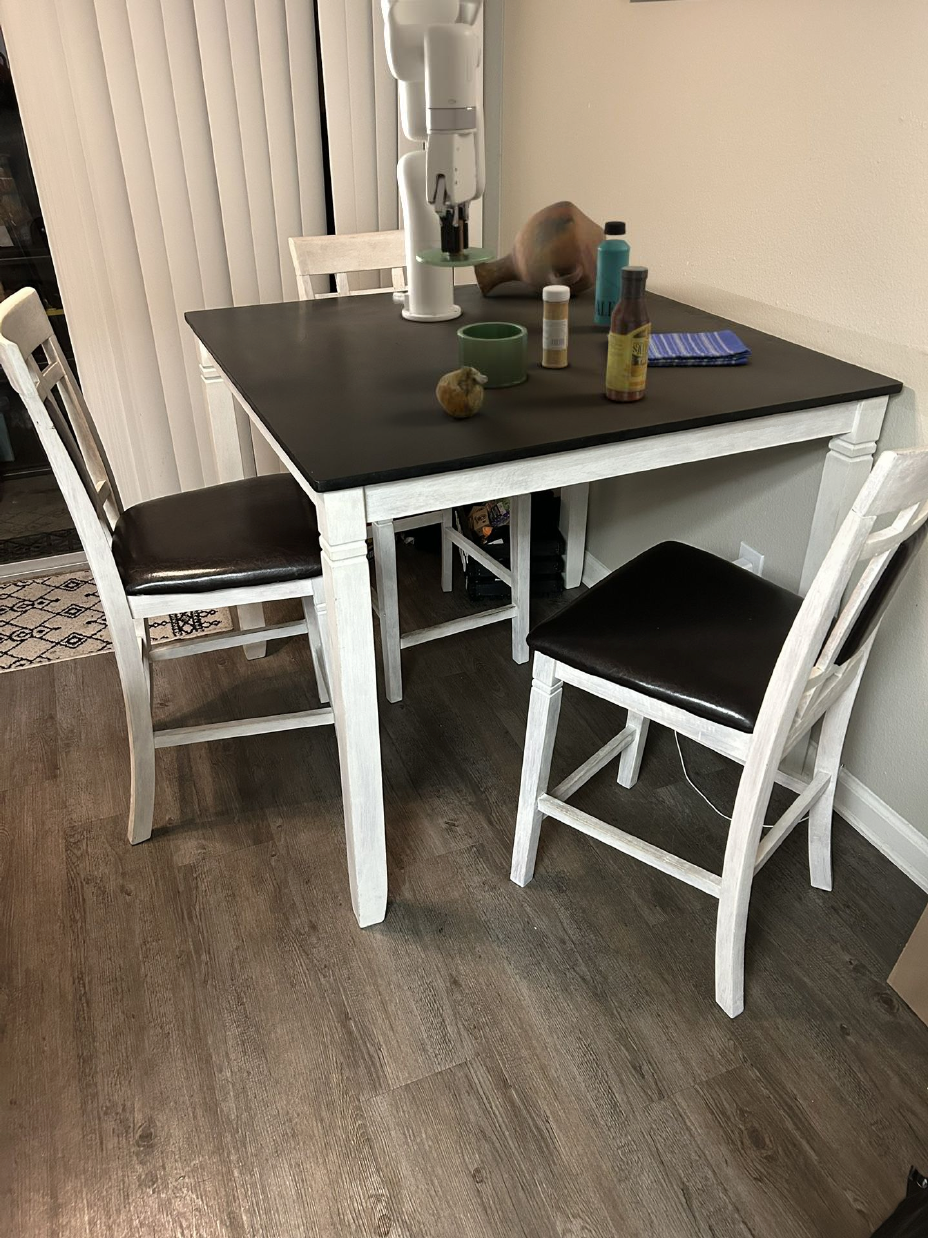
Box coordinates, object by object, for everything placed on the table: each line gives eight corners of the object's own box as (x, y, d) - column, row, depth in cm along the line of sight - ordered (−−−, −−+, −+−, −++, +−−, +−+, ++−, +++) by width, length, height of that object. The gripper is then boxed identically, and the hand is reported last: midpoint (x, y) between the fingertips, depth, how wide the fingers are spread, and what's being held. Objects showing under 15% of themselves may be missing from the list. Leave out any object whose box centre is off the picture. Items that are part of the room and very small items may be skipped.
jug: (614, 288, 214) (489, 308, 221) (605, 197, 208) (477, 221, 215) (607, 289, 195) (472, 311, 203) (598, 189, 189) (458, 216, 197)
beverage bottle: (624, 324, 186) (631, 218, 176) (626, 333, 181) (633, 224, 170) (592, 324, 187) (597, 218, 176) (593, 333, 181) (598, 224, 171)
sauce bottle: (634, 405, 144) (645, 273, 134) (598, 399, 147) (605, 270, 137) (650, 394, 149) (661, 265, 139) (615, 388, 152) (623, 262, 141)
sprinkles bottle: (568, 362, 165) (571, 284, 158) (565, 369, 161) (568, 290, 154) (543, 361, 166) (544, 284, 159) (540, 368, 162) (541, 289, 155)
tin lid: (404, 267, 146) (402, 225, 143) (435, 252, 156) (433, 212, 153) (478, 271, 142) (477, 228, 139) (504, 256, 152) (505, 215, 149)
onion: (482, 404, 147) (481, 354, 143) (489, 421, 140) (488, 369, 136) (435, 407, 146) (432, 357, 142) (440, 424, 139) (437, 372, 135)
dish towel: (752, 366, 160) (754, 349, 159) (616, 367, 161) (617, 351, 160) (731, 339, 175) (733, 324, 174) (606, 341, 176) (607, 326, 175)
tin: (448, 384, 156) (447, 336, 152) (473, 365, 165) (473, 319, 161) (512, 391, 152) (513, 342, 148) (535, 371, 161) (536, 324, 157)
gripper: (448, 117, 146) (452, 240, 156) (406, 125, 133) (413, 259, 143) (493, 117, 143) (493, 242, 153) (454, 125, 131) (458, 261, 141)
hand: (455, 249), depth 148 cm, fingers closed on tin lid, 2 cm apart
